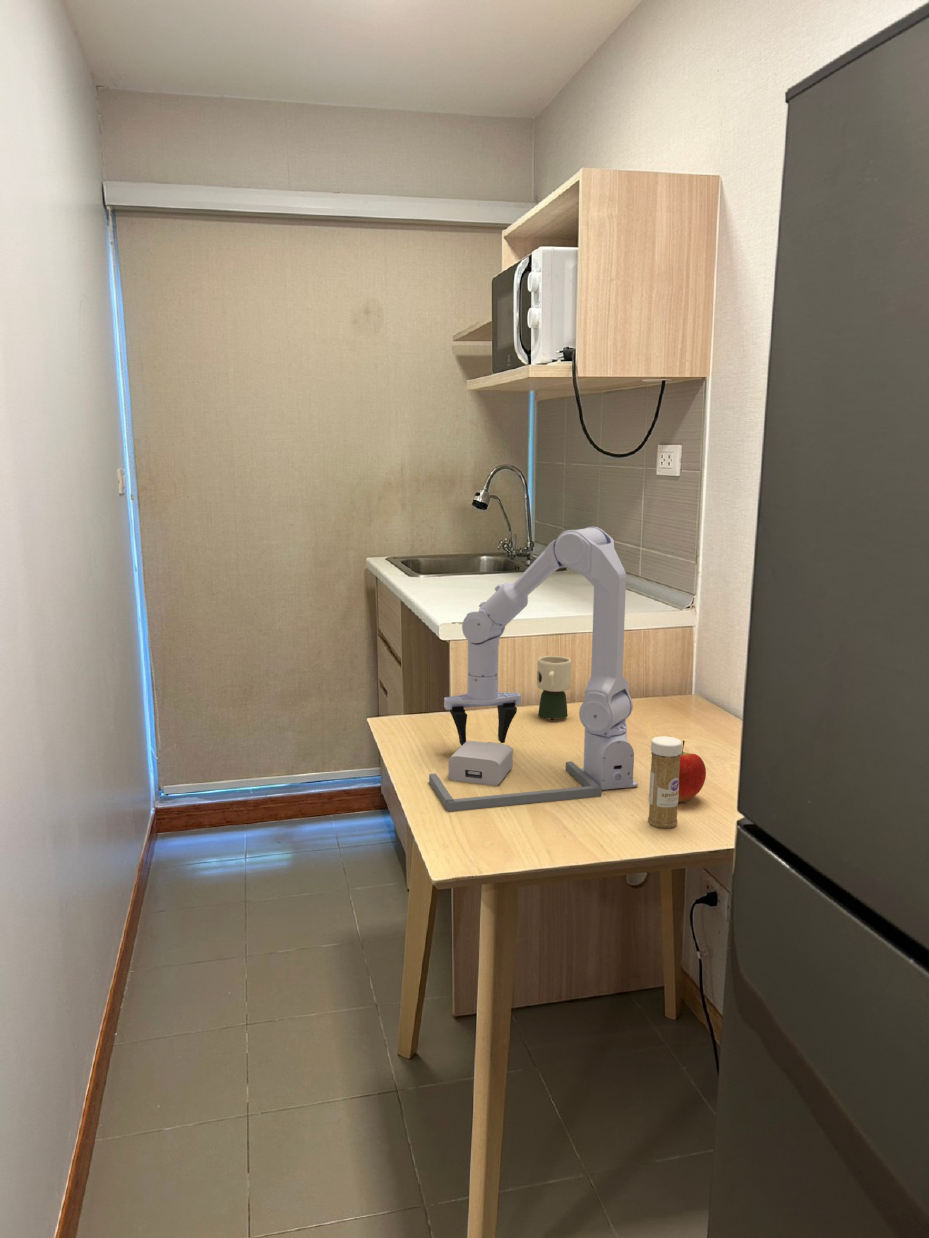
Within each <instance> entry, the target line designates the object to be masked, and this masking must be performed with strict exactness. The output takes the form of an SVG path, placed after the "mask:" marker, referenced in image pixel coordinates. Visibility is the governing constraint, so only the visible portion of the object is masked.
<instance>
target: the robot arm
mask: <svg viewBox="0 0 929 1238" xmlns="http://www.w3.org/2000/svg"><path fill="white" fill-rule="evenodd" d="M564 567H566V568H568V569H569V570H572V571H574V572H576V573H578V574H580V575H582V576H583V577H584V578H585V579H586V581H588V582H589V583H590V584H591V585H592V586H593V604H592V605H593V606H592V607H593V608H592V610H593V611H592V612H593V613H592V637H591V638H592V641H591V643H592V646H591V669H590V670H591V672H590V673H591V675H590V678H589V680H588V683H587V686H586V687H585V690H584V700H583V702H582V703H581V705H580V707H579V710H578V711H579V712H578V713H579V714H578V716H579V720H580V723H581V724H582V726H583V727H584V743H583V745H584V747H583V768H580V769H581V770H582V771H583V772H584V773H586V774H587V775H588V776H589V777H590V778H591V779H592V780H593V781H595V782H596V783H597V784H598V785H599V786H600V787H601V788H602V791H604V790H614V789H623V788H624V789H625V788H633V787H634V788H635V787H638V785H639V784H638V782H637V781H635V780H634V767H635V766H634V763H635V750H634V748H633V746H632V744H631V743H630V742H629V741H628V737H627V736H628V735H627V734H628V733H627V730H628V727H627V722H626V721H627V719H628V718H629V717H630V715H632V712H633V708H634V707H633V705H634V704H633V700H632V698H631V696H630V695H631V694H630V692H629V682H628V680H627V679H626V678H625V676H624V674H623V673H624V672H623V670H624V669H623V667H624V644H625V642H624V640H625V621H626V620H625V617H626V613H625V612H626V591H627V590H626V589H627V573H626V570H625V568H624V566H623V564H622V562H621V560H620V557H619V556H618V553H617V550H616V549H615V540H614V539H613V537H611V536H610V535H609V534H608V533H606V531H604V530H603V529H602V528H600V527H598V526H587V527H585V528H579V529H569V530H568V529H567V530H565V531H563V532H562V533H560V535H558V537H557V539H554V540H552V541H551V542H550V543H548V545H547V546H546V548H545V549H544V550H543V551H542V552H541V554H540V555H538V556H537V557H536V559H535V560H534V561H533V562H532V563H531V564H530V565H529V566H528V567H527V569H525V571H524V572H523V573H522V574H521V575H520V576H519V577H518V579H516V581H515V582H509V581H507V582H504V583H500V584H497V585H496V586H495V587H494V593H493V594H492V595H491V596H490V597H489V598H488V599H487V600H486V601H482V602H481V603H479V605H478V607H479V609H478V610H477V611H471V612H469V613H467V614H466V616H465V617H464V619H463V621H462V624H461V630H462V634H463V636H464V637H465V639H467V693H463V694H459V695H453V696H446V697H444V698H443V707H444V709H445V710H446V711H449V713H450V715H451V717H452V719H453V722H454V724H455V727H456V732H457V735H458V739H459V740H458V741H459V744H460V746H462V745H463V744H464V743H465V742H467V720H468V713H467V712H466V709H465V708H480V707H493V706H494V707H495V706H496V707H497V715H498V716H497V717H498V727H497V740H498V741H499V743H501V744H505V743H506V738H507V735H508V734H507V733H508V731H509V728H510V726H511V723H512V722H513V719H514V718H515V716H516V715H517V712H518V708H517V707H516V706H521V704H522V702H521V701H522V695H521V694H520V692H499V645H500V638H501V636H502V635H503V633H504V632H505V630H506V626H507V625H508V624H509V623H510V622H511V621H513V619H515V618H516V617H517V615H519V614H520V613H521V612H522V611H523V610H524V609H525V608H526V607H527V606H528V602H529V600H528V599H529V595H530V594H531V593H532V592H534V591H535V589H537V588H538V587H539V586H540V585H541V584H542V583H544V581H546V580H547V579H548V578H549V577H551V575H553V574H554V573H555V572H556V571H557V570H558V569H561V568H564Z"/></svg>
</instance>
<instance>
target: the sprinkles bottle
mask: <svg viewBox="0 0 929 1238" xmlns="http://www.w3.org/2000/svg"><path fill="white" fill-rule="evenodd" d="M682 748H683V741H681V740H680V739H679V738H676V737H673V736H666V735H665V736H664V735H663V736H656V737H653V738H652V739H651V745H650V752H651V764H650V773H649V774H650V775H649V776H650V777H649V795H648V803H649V806H648V808H649V809H648V817H647V821H648V823H649V824H650V825H652V826H653V827H656V828H661V829H663V828H664V829H668V828H674V827H675V826H676V825H677V824H678V805H679V802H678V797H679V769H680V768H679V767H680V754H681V752H682Z"/></svg>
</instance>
